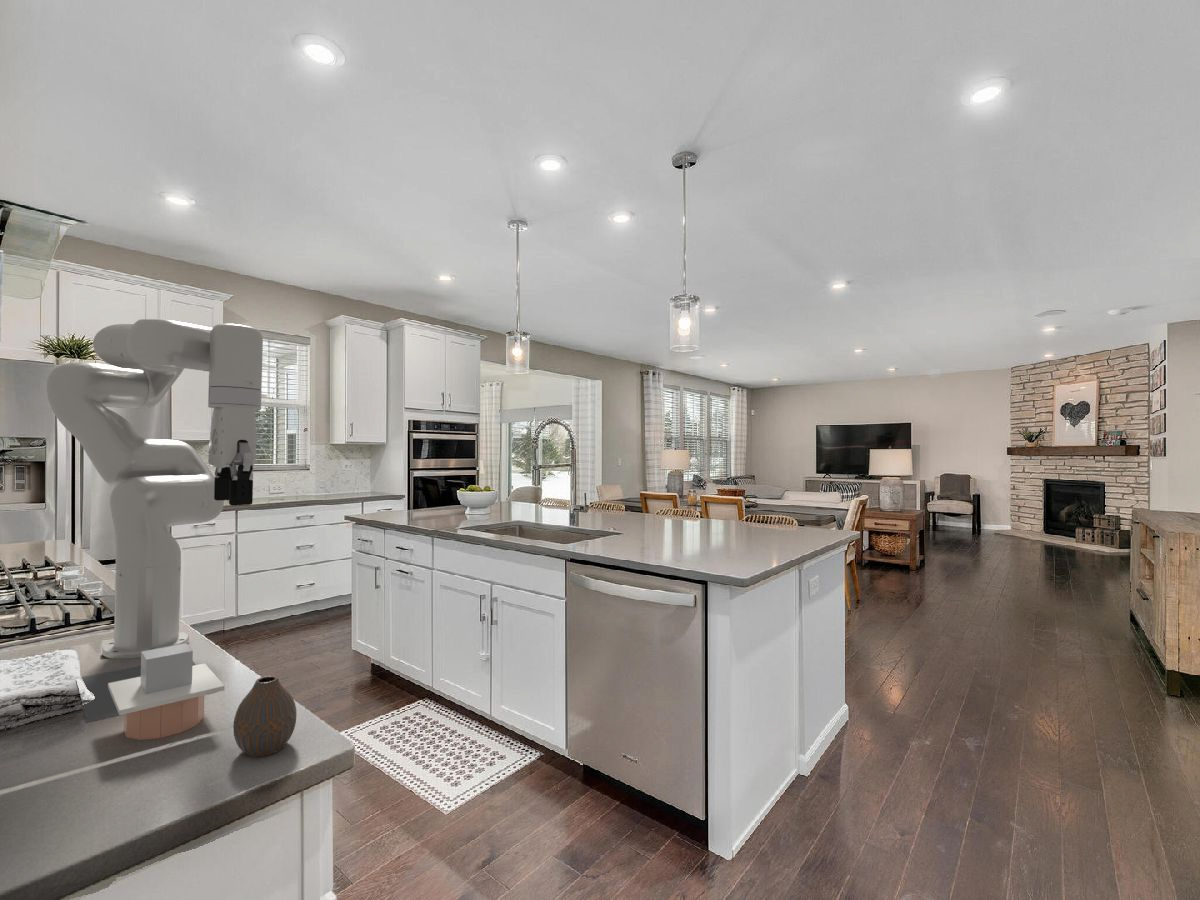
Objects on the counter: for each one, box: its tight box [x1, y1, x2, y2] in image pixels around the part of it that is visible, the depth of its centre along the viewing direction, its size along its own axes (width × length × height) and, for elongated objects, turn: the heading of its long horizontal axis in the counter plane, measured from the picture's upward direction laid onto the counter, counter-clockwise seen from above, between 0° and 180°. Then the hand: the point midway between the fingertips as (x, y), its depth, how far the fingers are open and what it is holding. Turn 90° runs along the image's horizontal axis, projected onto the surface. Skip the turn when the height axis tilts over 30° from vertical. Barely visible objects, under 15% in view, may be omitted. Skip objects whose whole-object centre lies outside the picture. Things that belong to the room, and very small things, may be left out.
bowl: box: [123, 695, 205, 741], centre depth 79 cm, size 8×8×5 cm
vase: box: [232, 675, 298, 758], centre depth 74 cm, size 7×7×9 cm
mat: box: [81, 660, 217, 724], centre depth 91 cm, size 20×15×1 cm
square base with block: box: [108, 643, 225, 716], centre depth 79 cm, size 11×11×5 cm
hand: (232, 502), depth 98 cm, fingers open, 9 cm apart
